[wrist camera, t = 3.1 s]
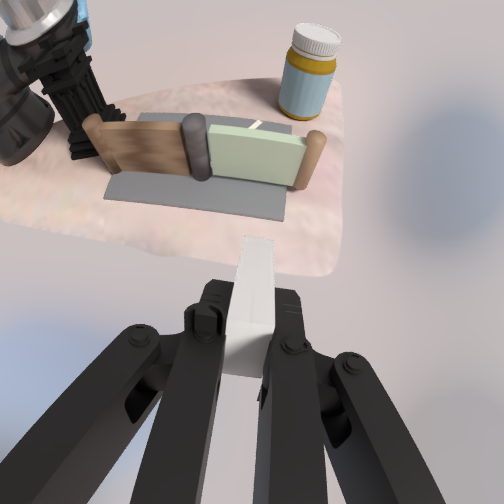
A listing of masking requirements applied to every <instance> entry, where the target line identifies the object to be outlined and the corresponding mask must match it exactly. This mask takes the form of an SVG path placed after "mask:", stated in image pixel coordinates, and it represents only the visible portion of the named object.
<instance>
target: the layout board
mask: <svg viewBox="0 0 504 504" xmlns="http://www.w3.org/2000/svg"><path fill="white" fill-rule="evenodd" d="M187 115H188V114H183V113H141V114H140V116H139V118H138V120H137V121H158V122H182V120H183V118H184V117H185V116H187ZM204 116H205V119H206V128H207V137H208V146H209V155H210V164H211V172H212V174H211V177H210V178H209V179H208V180H206V181H203V182H200V181H197V180H195V178H194V176H193V172H192V171H191V175H190V176H181V175H170V174H158V173H145V172H130V171H121V172H120V173H118V174H112V177H111V179H110V182H109V184H108V187H107V189H106V192H105V195H104V197H103V198H104V199H108V200H118V201H128V202H137V203H147V204H155V205H164V206H173V207H181V208H189V209H197V210H205V211H212V212H220V213H227V214H234V215H241V216H248V217H255V218H262V219H268V220H275V221H281V222H283V221H284V213H285V203H286V192H287V185H282V184H276V183H270V182H263V181H256V180H250V179H242V178H235V177H227V176H219V175H213V170H212V161H211V152H210V142H209V133H208V132H209V129H210V126H211V124H213V125H223V126H233V127H242V128H250V129H257V130H264V131H271V132H277V133H283V134H289V135H291V131H292V126H291V125H285V124H280V123H273V122H267V121H260V120H252V119H244V118H235V117H226V116H215V115H204Z"/></svg>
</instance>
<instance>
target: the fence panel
mask: <svg viewBox="0 0 504 504" xmlns="http://www.w3.org/2000/svg"><path fill="white" fill-rule="evenodd" d="M208 133H209V142H210V152H211V161H212V170H213V175H219V176H227V177H235V178H242V179H250V180H256V181H263V182H270V183H276V184H282V185H288V186H293V187H294V188H295V189H297V190H304V189H305V188H306V187H307V185H308V182H309V180H310V178H311V176H312V173H313V171H314V169H315V167H316V164H317V162H318V160H319V157H320V155H321V153H322V151H323V148H324V146H325V144H326V141H327V138H326V136H325V135H324V134H323V133H322V132H320V131H317V130H312V131H310V132H309V133H308V135H307V138H305V137H300V136H295V135H289V134H283V133H277V132H271V131H264V130H257V129H250V128H242V127H233V126H223V125H213V124H211V126H210V129H209V132H208Z"/></svg>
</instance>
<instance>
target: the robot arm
mask: <svg viewBox="0 0 504 504" xmlns="http://www.w3.org/2000/svg"><path fill="white" fill-rule="evenodd" d="M0 16H1V18H2V19H3V20H4V21H5V23H6V24H7V25H8V28H7V31H6V35H5V38H4V39H3V36H1V35H0V162H1V163H2V164H3V165H5V166H11V165H14V164H17V163H18V162H20V161H22V160H23V159H25V158H26V157H27V156H28V155H29V154H31V153H32V152H33V151H34V150H35V149H36V148H37V147H38V146H39V144H40V143H41V142H42V141H43V139H44V138H45V137H46V135H47V134H48V132H49V130H50V129H51V127H52V124H53V122H54V117H55V112H54V110H53V108H52V107H51V105H50V104H49V102H47V101H46V100H44V99H43V98H42V97H40V96H38V95H37V94H36V93H34V92H33V91H31V89H30V88H29V85H30V84H32V83H33V82H35V81H36V80H38V79H39V78H38V79H36V80H34V81H31V82H30V80H29V78H28V77H27V75H26V73H25V72H24V73H22V74H20V72H19V70H18V69H17V67H18V66H19V65H20V63H21V62H22V61H23V60H24V59H26V58H28V57H30V56H33V58H35V57H36V56H37V55H38V53H39V52H40V51H41V50H42V49H40V47H39V45H38V42H39V41H40V40H41V39H42V38H43V37H45V36H47V35H49V34H53V36H54V39H55V40H57V39H59V38H62V37H64V36H67V35H69V34H72V33H73V32H72V28H73V27H74V26H75V25H76V24H77V23H79V22H82V21H85V20H88V11H87V4H86V0H0ZM88 24H89V20H88ZM86 31H87V34H88V37H89V41H88V43H87V44H86V45H85V46H84V51H85V52H87V51H88V50H89V49H90V47H91V45H92V37H91V31H90V24H89V28H88V29H87V30H86ZM55 40H54V41H55ZM274 285H275V284H274V240H272V239H265V238H258V237H252V236H245V235H244V240H243V244H242V249H241V254H240V259H239V263H238V268H237V273H236V278H235V282H228V281H222V280H215V279H212V280H211V281H210V282H208V283H207V284H206V285H205V288H204V290H203V294H202V296H201V299H200V302H199V303H195V304H192V305H191V306H189V307H187V309H186V310H185V311H184V324H185V325H184V328H185V331H183V332H181V333H178V334H173V335H159V333H158V332H157V330H156V329H154V328H153V327H151V326H148V325H145V324H136V325H132V326H129V327H128V328H126V329H125V330H123V331H122V332H121V333H120V334H119V335H118V336H117V337H116V338H115V339H114V340H113V341H112V342H111V343H110V344H109V345H108V346H107V347H106V348H105V349H104V350H103V351H102V352H101V354H100V355H99V356H98V357H97V358H96V359H95V360H94V361H93V362H92V363H91V364H90V365H89V366H88V367H87V368H86V369H85V370H84V371H83V372H82V373H81V374H80V375H79V376H78V377H77V378H76V379H75V381H74V382H73V383H72V384H71V385H70V386H69V387H68V388H67V389H66V390H65V391H64V392H63V393H62V394H61V395H60V397H58V399H57V400H56V401H55V402H54V403H53V404H52V405H51V406H50V407H49V408H48V409H47V411H46V412H45V413H44V414H43V415H42V416H41V417H40V418H39V420H38V421H37V422H36V423H35V424H34V425H33V426H32V427H31V428H30V430H29V431H28V432H27V433H26V434H25V435H24V436H23V438H22V439H21V440H20V441H19V442H18V443H17V444H16V446H15V447H14V448H13V449H12V450H11V451H10V453H9V454H8V455H7V456H6V457H5V458H4V460H3V461H2V462H1V463H0V504H87V503H88V501H89V500H90V498H91V497H92V496H93V494H94V493H95V491H96V490H97V489H98V487H99V486H100V484H101V483H102V481H103V480H104V478H105V477H106V476H107V474H108V473H109V471H110V470H111V469H112V467H113V466H114V464H115V463H116V461H117V460H118V459H119V457H120V456H121V454H122V453H123V451H124V450H125V449H126V447H127V446H128V444H129V443H130V441H131V440H132V438H133V437H134V436H135V434H136V433H137V431H138V430H139V428H140V427H141V425H142V424H143V423H144V421H145V420H146V418H147V417H148V415H149V414H150V412H151V411H152V409H153V408H154V407H155V405H156V404H157V402H158V401H159V399H160V398H161V396H162V398H161V401H160V404H159V407H158V410H157V414H156V416H155V420H154V423H153V426H152V429H151V432H150V435H149V439H148V442H147V445H146V448H145V452H144V455H143V458H142V462H141V465H140V469H139V472H138V476H137V479H136V482H135V486H134V490H133V493H132V497H131V501H130V504H200V502H201V496H202V489H203V484H204V478H205V471H206V466H207V459H208V454H209V448H210V442H211V436H212V429H213V424H214V418H215V412H216V406H217V400H218V394H219V388H220V381H221V374H222V373H225V374H231V375H238V376H246V377H254V378H261V377H262V374H263V380H262V385H261V389H260V392H259V395H258V399H257V401H259V417H258V434H257V449H256V464H255V478H254V492H253V504H328V497H327V481H326V467H325V455H324V445H325V448H326V451H327V453H328V456H329V459H330V461H331V464H332V467H333V469H334V472H335V475H336V477H337V480H338V483H339V485H340V488H341V490H342V493H343V496H344V499H345V501H346V504H446V503H445V501H444V499H443V497H442V495H441V493H440V491H439V488H438V487H437V485H436V482H435V480H434V479H433V476H432V474H431V473H430V471H429V469H428V467H427V465H426V463H425V461H424V459H423V457H422V455H421V453H420V451H419V450H418V448H417V446H416V444H415V442H414V440H413V438H412V437H411V435H410V433H409V431H408V429H407V427H406V426H405V424H404V422H403V420H402V419H401V417H400V415H399V413H398V411H397V410H396V408H395V406H394V404H393V403H392V401H391V399H390V397H389V396H388V394H387V392H386V391H385V389H384V387H383V385H382V384H381V382H380V380H379V378H378V377H377V375H376V373H375V372H374V370H373V368H372V367H371V365H370V363H369V362H368V361H367V360H366V359H365V358H364V357H363V356H361V355H359V354H357V353H354V352H344V353H341V354H339V355H338V356H337V357H336V358H335V359H334V358H331V357H328V356H325V355H322V354H320V353H318V352H316V351H315V350H313V349H312V346H311V344H310V342H308V340H307V339H306V337H305V331H304V323H303V315H302V308H301V301H300V297H299V296H298V294H297V293H296V292H295V290H289V289H282V288H275V287H274Z"/></svg>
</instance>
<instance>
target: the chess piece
mask: <svg viewBox="0 0 504 504" xmlns="http://www.w3.org/2000/svg"><path fill="white" fill-rule="evenodd" d="M88 28H89V24H88V20H85V21H82V22H79V23H77V24H76V25H75V26H74V27H73V28H72V32H73V33H72V34H69V35H67V36H64V37H62V38H59V39H57V40H55V39H54V36H53V34H49V35H47V36H45V37H43V38H42V39H41V40H40V41H39V42H38V45H39V47H40V49H42V50H41V51H40V52H39V53H38V55H37V56H36V57H35V58H33V56H30V57H28V58H26V59H24V60H23V61H22V62H21V63H20V65H19V66H18V67H17V69H18V70H19V72H20V74H22V73H24V72H25V73H26V75H27V77H28V78H29V80H30V82H31V81H34V80H36V79H38V78H39V79H40V81H41V83H42V85H43V87H44V88H43V89H42V91H41V92H42V93H43V95H46V94H48V95H49V97H50V99H51V100H52V102H53V104H54V105H55V107H56V109H57V110H58V112H59V114H60V115H61V117H62V119H63V120H64V122H65V123H66V125H67V127H68V128H69V130H70V131H71V134H70V136H69V139H68V142H69V143H70V144H71V146H70V148H69V150H70V151H71V152H72V155H71V158H72V160H77V159H82V158H88V157H94V156H100V155H99V153H98V152H97V150H96V149H95V147H94V145H93V144H92V142H91V140H90V139H89V137H88V135H87V134H86V132H85V130H84V129H83V127H82V123H83V121H84V120H85V119H86V118H87V117H88V116H89V115H92V114H99V115H100V117H101V119H102V121H103V122H122V121H125V119H126V114H125V113H122V114H120V113H121V111H120V108H119V109H115V105H114V104H110V105H107V104H106V102H105V100H104V98H103V95H102V93H101V91H100V89H99V86H98V84H97V81H96V79H95V76H94V74H93V72H92V69H91V66H90V62H91V61H92V58H91V56H86V54H85V51H84V46H85V45H86V44H87V43H88V41H89V37H88V34H87V31H86V30H87V29H88ZM54 40H55V41H54Z"/></svg>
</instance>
